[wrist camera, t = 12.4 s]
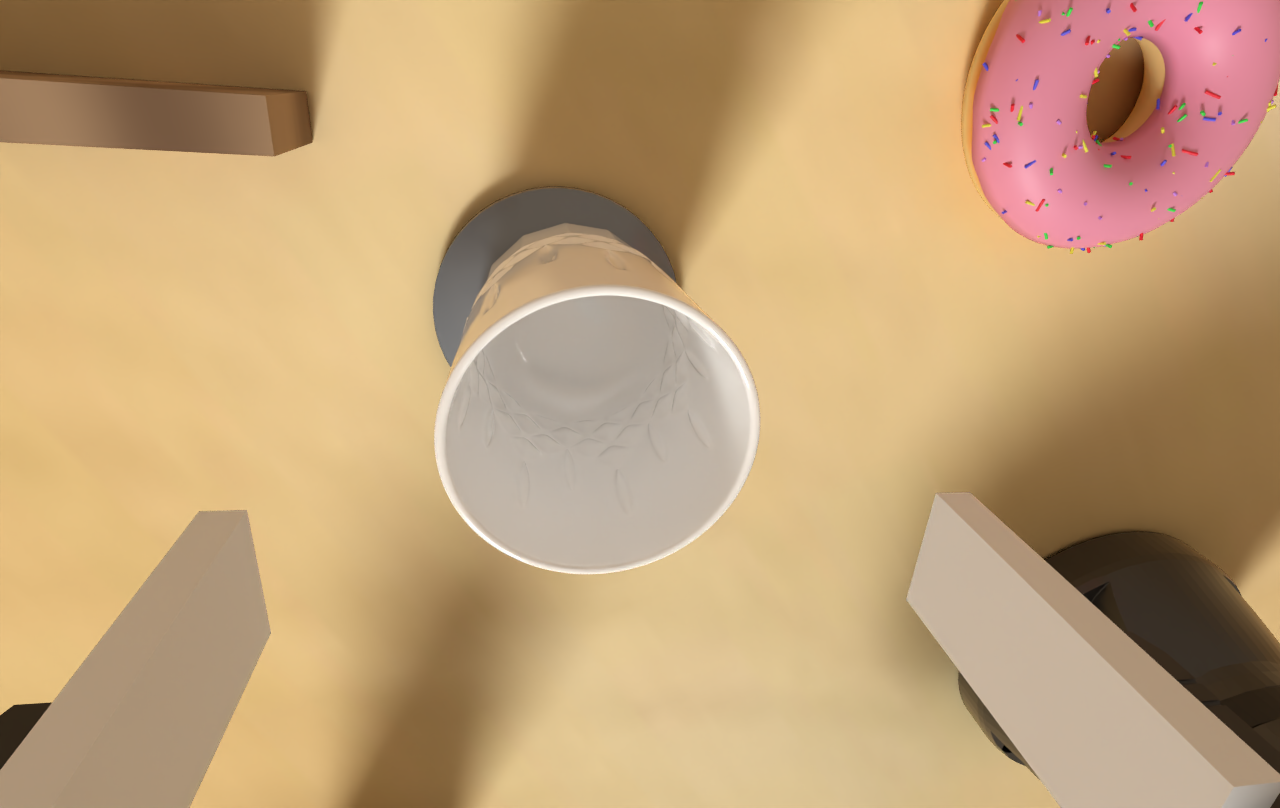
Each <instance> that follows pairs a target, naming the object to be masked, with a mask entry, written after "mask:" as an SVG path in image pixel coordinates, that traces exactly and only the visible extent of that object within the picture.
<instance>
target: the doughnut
mask: <svg viewBox="0 0 1280 808" xmlns="http://www.w3.org/2000/svg"><path fill="white" fill-rule="evenodd" d="M1131 37H1133V38H1135V39H1136V41H1137V42H1138V43H1139V45H1140V47H1141V50H1142V53H1143V58H1144V78H1143V84H1142V88H1141V92H1140V95H1139V97H1138V100H1137V102H1136V104H1135V107H1134V108H1133V110H1132V112H1131V114H1130V115H1129V117H1128V118H1127V120H1126V121H1125V123H1124V124H1123V125H1122V126H1121V127H1120V129H1119V130H1118V131H1117V132H1116V133H1114V134H1113V135H1112V136H1111V137H1110V138H1108V139H1107V140H1105V141H1103V142H1099V141H1098V140H1096V139H1097V138H1098V136H1097V135H1095V134H1096V132H1097V131H1093V133H1092V135H1090V132H1089V129H1088V126H1087V120H1086V109H1087V104H1088V102H1087V101H1088V96H1089V92H1090V89H1091V85H1092V84H1094V83H1096V82H1099V79H1096V80H1094V78H1096V77H1098V74H1099V72H1100V70H1098V69H1099V67H1100V65H1101V64H1102V62H1103V60H1104V59H1105V58H1106V57H1107V58H1109V57H1110V55H1109V53H1110V51H1111V50H1112V49H1113V48H1116V49H1119V48H1120V46H1119V45H1117V44H1118V43H1119V42H1121V41H1122V40H1123V39H1124V40H1125V41H1126V40H1127V39H1128V38H1131ZM1279 79H1280V0H1004V1H1003V2H1002V4H1001V5H1000V7H999V8H998V10H997V11H996V13H995V14H994V16H993V18H992V19H991V21H990V23H989V25H988V27H987V28H986V30H985V32H984V34H983V36H982V39H981V41H980V43H979V45H978V48H977V50H976V53H975V55H974V58H973V61H972V64H971V67H970V70H969V74H968V77H967V81H966V86H965V91H964V97H963V104H962V115H961V134H962V145H963V151H964V156H965V161H966V164H967V168H968V171H969V174H970V176H971V179H972V181H973V183H974V185H975V187H976V189H977V191H978V193H979V194H980V196H981V197H982V199H983V200H984V202H985V203H986V204H987V205H988V207H989V208H990V209H991V210H992V211H993V212H994V213H995V214H996V215H998V216H999V217H1000V218H1001V219H1003V220H1004V221H1005V222H1006V223H1007V224H1008V225H1009V226H1010V227H1011V228H1012V229H1013V230H1014V231H1016V232H1017V233H1019V234H1020V235H1022V236H1024V237H1026V238H1028V239H1030V240H1032V241H1035V242H1037V243H1040V244H1044V245H1048V246H1047V248H1052V247H1060V248H1071V250H1070V254H1073V251H1074V248H1080V249H1081V250H1083V251H1084V250H1085V248H1087V252H1088V253H1090V252H1091V250H1090V247H1093V248H1095V247H1099V246H1107V247H1109V248H1111V247H1112V245H1110V244H1113V243H1117V242H1121V241H1125V240H1128V239H1131V238H1134V237H1138V236H1140V238H1139V240H1143V234H1145V233H1147V232H1150V231H1152V230H1154V229H1156V228H1158V227H1159V226H1161V225H1163V224H1165V223H1166V222H1168V221H1170V220H1171V222H1174V218H1175V217H1176V216H1178V215H1180V214H1181V213H1183V212H1184V211H1186V210H1187V209H1188V208H1190V207H1191V206H1192V205H1194V204H1195V203H1196V202H1198V201H1199V200H1200V199H1202V198H1203V197H1204V196H1205V195H1206V194H1207V193H1208V192H1209V193H1211V192H1213V190H1212V188H1213V187H1214V186H1215V185H1216V184H1217V183H1218V182H1219V181H1220V180H1221V179H1222V178H1223V177H1224V176H1227V175H1234V174H1235V172H1230V170H1231V169H1232V166H1233V165H1234V164H1235V163H1236V161H1237V160H1238V159H1239V158H1240V156H1241V155H1242V153H1243V152H1244V151H1245V149H1246V148H1247V146H1248V145H1249V143H1250V142H1251V140H1252V139H1253V137H1254V135H1255V134H1256V132H1257V130H1258V128H1259V127H1260V125H1261V123H1262V121H1263V119H1264V117H1265V115H1266V113H1267V112H1269V111H1270V109H1273V108H1276V105H1273V106H1271V104H1272V103H1273V102H1274V101H1273V100H1272V99H1273V96H1276V95H1277V90H1278V82H1279Z"/></svg>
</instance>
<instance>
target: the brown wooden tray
mask: <svg viewBox="0 0 1280 808" xmlns="http://www.w3.org/2000/svg"><path fill="white" fill-rule="evenodd" d="M0 142H8V143H27V144H47V145H66V146H85V147H105V148H124V149H143V150H163V151H182V152H201V153H221V154H240V155H259V156H276V155H279V154H282V153H285V152H287V151H290V150H293V149H296V148H298V147H301V146H304V145H307V144H309V143H312V134H311V126H310V118H309V110H308V102H307V94H306V91H293V90H278V89H263V88H248V87H234V86H219V85H204V84H189V83H174V82H160V81H145V80H130V79H115V78H100V77H86V76H71V75H56V74H41V73H26V72H12V71H0Z"/></svg>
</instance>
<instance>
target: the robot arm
mask: <svg viewBox="0 0 1280 808" xmlns="http://www.w3.org/2000/svg"><path fill="white" fill-rule="evenodd" d="M906 600H907V601H908V603H909V604H910V606H911V607H912V608H913V610H914V611H915V612H916V614H917V615H918V616H919V618H920V619H921V620H922V622H923V623H924V624H925V626H926V627H927V628H928V630H929V631H930V632H931V634H932V635H933V636H934V638H935V639H936V640H937V642H938V643H939V645H940V646H941V647H942V649H943V650H944V651H945V653H946V654H947V655H948V657H949V658H950V659H951V661H952V662H953V663H954V665H955V666H956V667H957V669H958V670H959V679H958V681H959V690H960V694H961V697H962V700H963V702H964V705H965V706H966V708H967V710H968V711H969V712H970V714H971V715H972V717H973V718H974V719H975V721H976V722H977V724H978V725H979V726H980V728H981V729H982V731H983V732H984V733H985V735H986V736H987V737H988V739H989V740H990V741H991V742H992V743H993V744H994V745H995V746H996V747H997V748H998V749H999V750H1000V751H1001V752H1002V753H1004V754H1005V755H1006V756H1008V757H1009V758H1010V759H1012V760H1014V761H1015V762H1017V763H1020V764H1022V765H1025V766H1026V767H1027V768H1028V769H1029V770H1030V771H1031V772H1032V773H1033V774H1034V775H1035V776H1036V777H1037V778H1038V779H1039V780H1041V782H1042V783H1043V784H1044V786H1045V787H1046V788H1047V790H1048V791H1049V792H1050V794H1051V795H1052V796H1053V798H1054V799H1055V800H1056V802H1057V803H1058V804H1059V806H1060V807H1061V808H1280V643H1279V642H1278V641H1277V639H1276V638H1275V637H1274V636H1273V634H1272V633H1271V632H1270V630H1269V629H1268V628H1267V627H1266V625H1265V624H1264V623H1263V622H1262V620H1261V619H1260V618H1259V617H1258V615H1257V614H1256V613H1255V612H1254V611H1253V609H1252V608H1251V607H1250V606H1249V605H1248V603H1247V602H1246V601H1245V600H1244V599H1243V597H1242V596H1241V594H1240V592H1239V590H1238V588H1237V586H1236V585H1235V584H1234V582H1233V581H1232V580H1231V579H1230V578H1229V577H1228V575H1226V574H1225V573H1224V572H1223V571H1222V570H1221V569H1220V568H1219V567H1217V566H1216V565H1215V564H1213V563H1212V562H1210V561H1209V560H1208V559H1206V558H1205V557H1203V556H1202V555H1201V554H1199V553H1198V552H1196V551H1195V550H1193V549H1192V548H1191V547H1189V546H1188V545H1186V544H1185V543H1183V542H1182V541H1180V540H1178V539H1176V538H1173V537H1170V536H1167V535H1163V534H1159V533H1153V532H1125V533H1117V534H1112V535H1107V536H1103V537H1099V538H1095V539H1092V540H1089V541H1086V542H1083V543H1081V544H1078V545H1075V546H1073V547H1071V548H1068V549H1066V550H1064V551H1062V552H1060V553H1058V554H1056V555H1054V556H1052V557H1051V558H1049V559H1047V560H1044V559H1043V558H1042V557H1041V556H1039V555H1038V554H1037V553H1036V552H1035V551H1034V550H1033V549H1032V548H1031V547H1030V546H1028V545H1027V544H1026V543H1025V542H1024V541H1023V540H1022V539H1021V538H1020V537H1019V536H1017V535H1016V534H1015V533H1014V532H1013V531H1012V530H1011V529H1010V528H1009V527H1008V526H1006V525H1005V524H1004V523H1003V522H1002V521H1001V520H1000V519H999V518H998V517H997V516H995V515H994V514H993V513H992V512H991V511H990V510H989V509H988V508H987V507H986V506H985V505H983V504H982V503H981V502H980V501H979V500H978V499H977V498H976V497H975V496H974V495H972V494H971V493H970V492H955V493H936V495H935V498H934V502H933V505H932V509H931V513H930V516H929V520H928V523H927V527H926V530H925V534H924V538H923V541H922V545H921V548H920V552H919V555H918V559H917V563H916V566H915V570H914V573H913V577H912V580H911V584H910V587H909V591H908V595H907V598H906ZM270 634H271V631H270V626H269V621H268V615H267V610H266V605H265V600H264V595H263V590H262V585H261V580H260V575H259V569H258V564H257V559H256V554H255V549H254V544H253V539H252V534H251V528H250V523H249V518H248V513H247V510H233V511H199V512H198V513H197V515H196V516H195V517H194V519H193V520H192V521H191V522H190V524H189V525H188V526H187V528H186V529H185V530H184V532H183V533H182V534H181V535H180V537H179V538H178V539H177V541H176V542H175V543H174V545H173V546H172V547H171V548H170V550H169V551H168V552H167V554H166V555H165V556H164V558H163V559H162V560H161V562H160V563H159V564H158V565H157V567H156V568H155V569H154V571H153V572H152V573H151V575H150V576H149V577H148V578H147V580H146V581H145V582H144V584H143V585H142V586H141V588H140V589H139V590H138V591H137V593H136V594H135V595H134V597H133V598H132V599H131V601H130V602H129V603H128V604H127V606H126V607H125V608H124V610H123V611H122V612H121V614H120V615H119V616H118V618H117V619H116V620H115V621H114V623H113V624H112V625H111V627H110V628H109V629H108V631H107V632H106V633H105V634H104V636H103V637H102V638H101V640H100V641H99V642H98V644H97V645H96V646H95V647H94V649H93V650H92V651H91V653H90V654H89V655H88V657H87V658H86V659H85V660H84V662H83V663H82V664H81V666H80V667H79V668H78V670H77V671H76V672H75V674H74V675H73V676H72V677H71V679H70V680H69V681H68V683H67V684H66V685H65V687H64V688H63V689H62V690H61V692H60V693H59V694H58V696H57V697H56V698H55V700H54V701H53V702H52V703H38V704H23V705H14V706H12V707H11V708H10V709H8V710H7V711H6V712H4V713H3V714H1V715H0V808H190V805H191V803H192V801H193V799H194V797H195V795H196V793H197V790H198V788H199V786H200V784H201V782H202V780H203V778H204V775H205V773H206V771H207V769H208V767H209V765H210V763H211V760H212V758H213V756H214V754H215V752H216V750H217V747H218V745H219V743H220V741H221V739H222V737H223V735H224V732H225V730H226V728H227V726H228V724H229V722H230V720H231V717H232V715H233V713H234V711H235V709H236V707H237V704H238V702H239V700H240V698H241V696H242V694H243V692H244V689H245V687H246V685H247V683H248V681H249V679H250V677H251V674H252V672H253V670H254V668H255V666H256V664H257V662H258V659H259V657H260V655H261V653H262V651H263V649H264V646H265V644H266V642H267V640H268V638H269V636H270Z"/></svg>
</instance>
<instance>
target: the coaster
mask: <svg viewBox="0 0 1280 808" xmlns="http://www.w3.org/2000/svg"><path fill="white" fill-rule="evenodd" d="M562 223H570V224H576V225H582V226H588V227H594V228H600V229H607V230H609V231H610V232H612V233H613V234H615V235H616V236H617V237H619V238H620V239H622V240H623V241H624V242H626V243H627V244H629V245H630V246H631V247H633V248H634V249H636V250H638V251H639V252H641V253H642V254H644V255H645V256H646V257H648V258H649V259H650V260H651V261H652V262H654V263H655V264H656V265H657V266H658V267H659V268H661V269H662V270H663V271H664V272H665V273H666V274H667V275H668V276H670V277H671V278H672V279H673V280H674V281H675V282H676V279H675V275H674V271H673V269H672V266H671V264H670V261H669V259H668V257H667V255H666V253H665V251H664V250H663V248H662V246H661V244H660V243H659V242H658V240H657V239H656V238H655V236H654V235H653V234H652V232H651V231H650V230H649V229H648V228H647V227H646V226H645V225H644V224H643V223H642V222H641V221H640V219H639V218H638V217H636V216H635V215H634V214H633V213H631V212H630V211H629V210H627V209H626V208H625V207H623V206H621V205H620V204H618V203H616V202H614V201H613V200H611V199H609V198H607V197H604V196H602V195H599V194H597V193H594V192H590V191H586V190H582V189H578V188H570V187H562V186H559V187H540V188H533V189H527V190H524V191H521V192H517V193H514V194H511V195H509V196H506V197H504V198H502V199H500V200H498V201H495V202H494V203H492V204H491V205H489V206H488V207H486V208H485V209H483V210H481V211H480V212H479V213H478V214H477V215H476V216H474V217H473V218H472V219H471V220H470V221H469V222H468V223H467V224H466V225H465V226H464V227H463V228H462V230H461V231H460V232H459V233H458V234H457V236H456V237H455V239H454V240H453V242H452V243H451V245H450V246H449V248H448V250H447V252H446V255H445V257H444V259H443V261H442V263H441V266H440V269H439V273H438V276H437V279H436V283H435V290H434V296H433V316H434V324H435V330H436V334H437V337H438V341H439V344H440V347H441V349H442V351H443V354H444V356H445V358H446V360H447V362H448V363H449V365H450V367H451V366H452V363H453V360H454V357H455V354H456V351H457V348H458V345H459V342H460V339H461V336H462V333H463V330H464V327H465V324H466V321H467V317H468V316H469V313H470V311H471V309H472V307H473V304H474V301H475V299H476V297H477V295H478V293H479V292H480V290H481V288H482V287H483V285H484V284H485V282H486V279H487V276H488V273H489V271H490V268H491V265H492V264H493V263H494V262H495V261H496V260H497V259H498V258H500V257H501V256H502V255H503V254H504V253H505V252H506V251H507V250H508V249H509V248H510V247H511V246H512V245H513V244H514V243H515V242H517V241H518V240H519V239H520V238H521V237H522V236H523V235H526V234H529V233H532V232H536V231H539V230H542V229H546V228H549V227H552V226H556V225H559V224H562Z"/></svg>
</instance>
